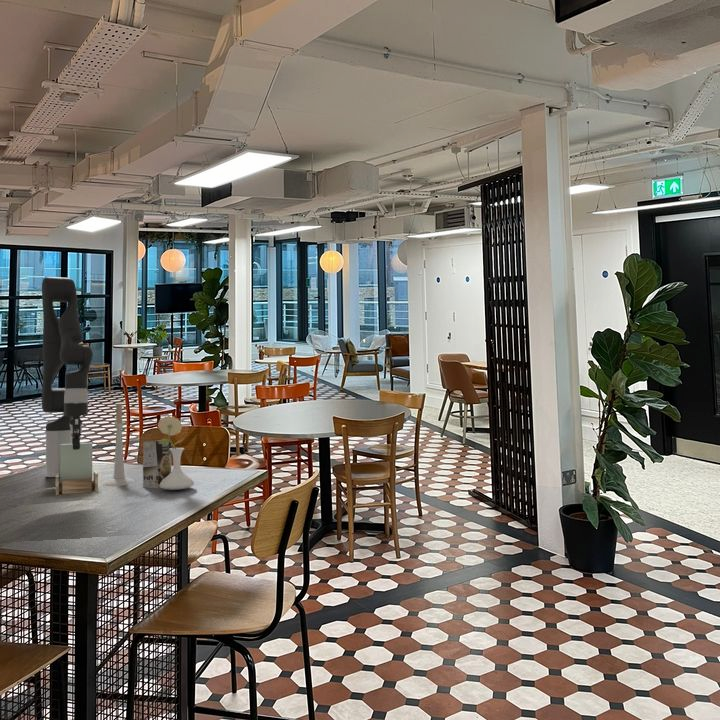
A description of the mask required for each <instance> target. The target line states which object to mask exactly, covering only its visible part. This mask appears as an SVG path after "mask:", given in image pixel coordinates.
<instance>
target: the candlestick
mask: <svg viewBox="0 0 720 720" xmlns="http://www.w3.org/2000/svg"><path fill="white" fill-rule="evenodd" d="M115 409H116V410H115V420H116V421H113V423H114V425H115V429H116V431H115V433H116V434H115V447H114V448H115V449H114V450H115V451H114V453H115V454H114V469H113V470H114V471H113V476H112V477H113V478H110V479H107V480H104V481H103V482H101V485H102V486H104V487H120V486H126V485H130V484H133V483H135V482H136V480H135V479H133V478H130V477H126V476H125V463H124V461H125V459H124V445H123V431H122V428H123V427H124V423H125V421H123V404H122V403H116V404H115Z"/></svg>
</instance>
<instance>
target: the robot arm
mask: <svg viewBox="0 0 720 720" xmlns="http://www.w3.org/2000/svg"><path fill="white" fill-rule="evenodd" d="M41 299H42V313H43V314H42V318H43V321H42V322H43V323H42V326H43V327H42V328H43V330H42V362H43V363H42V365H43V366H42V368H43V369H42V370H43V371H42V372H43V373H42V385H41V386H42V389H41V408H42V411H43V412H44V413H46V414H47V413H57V414H58V413H63V415H62V416H60V418H58V419H56V420H53V421H50V422H47V423H46V425H45V477H46V478H56V473H58V475H59V478H60V444H73V449H74V450H78V449H80V443H81V438H82V437H81V436H82V433H83V429H82V428H83V420H81V416H87V415H88V414H89V393H88V375H89V371H90V367H91V364H92V360H93V357H94V352H93V350H92V348H91V346H89V345H88V344H87V345H86V344H85V345H84V344H81V343H82V341H83V339H84V337H83V336H84V335H83V331H82V328H81V324H80V320H79V306H78V296H77V289H76V283H75V281H74V280H73V279H72V278H71V277H70V278H69V277H61V276H60V277H59V276H58V277H57V276H55V277H54V276H45V277H44V278H43V279H42V283H41ZM54 303H67V306H66V309H65V310H64V312H63V313H62V314H61V316H60V318H58V315H57V314H56V311H55V307H54ZM64 365H67V366H68V365H69V366H70V365H71V366H79V368H78V369H77V370H73V371H69V372H67V373H65V377H64V387H62V388H61V387H58V388H57V387H55V388H54V387H53V388H52V385H53V382H54V380H55V377H56V376H57V374H58V373H59V371H60V369H61V368H62V367H63V366H64Z"/></svg>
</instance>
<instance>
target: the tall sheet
mask: <svg viewBox="0 0 720 720" xmlns="http://www.w3.org/2000/svg"><path fill="white" fill-rule="evenodd" d="M78 478H92V479H93V442H82V443H81V442H80V449H78V450H74V449H73V444H60V477H59V483H60V485H62V480H64V479H78Z"/></svg>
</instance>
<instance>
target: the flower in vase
mask: <svg viewBox="0 0 720 720" xmlns="http://www.w3.org/2000/svg"><path fill="white" fill-rule="evenodd" d="M157 427H158V430H160V432H161V433H162V434H164V435H167V436H168V439H167V438H165V437H163V438H162V439H159V440H160V441H159V443H158V444H163V445H167V444H168V443H169V442H171V446H172V447H171V448H170V449H169V450H170V451H171V457H172V462H173V466H172V467H173V468H172V469H171V473H170V474H169V475H168V476H167V477H166V478H165V479H163V480H162V482H161V483H160V485H159V486H160V488H162V489H163V490H168V491H169V490H170V491H175V490H185V489H189V488H191V487H193V486H194V485H195V481H194V480H193V479H192V478H191V477H190V476H188V475H187V474H186V473H184V472H183V470H182V468H181V458H182V457H181V456H182V454H183V451H184V450H185V448H184V447H175V445H176V444H179V443H181V442H182V441H184V439H185V437H183V438H181V439H180V440H177V441H176V442H175V443H174V444H173V441H172V439H171V437H170V436H174V435H178V434H180V433H181V431H182V428H183V424H182V423H181V420H180V419H179V418H176V417H175V416H174V415H173V416H171V415H166V416H165V415H164V417H161V418H160V419H159V421H158V424H157Z"/></svg>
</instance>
